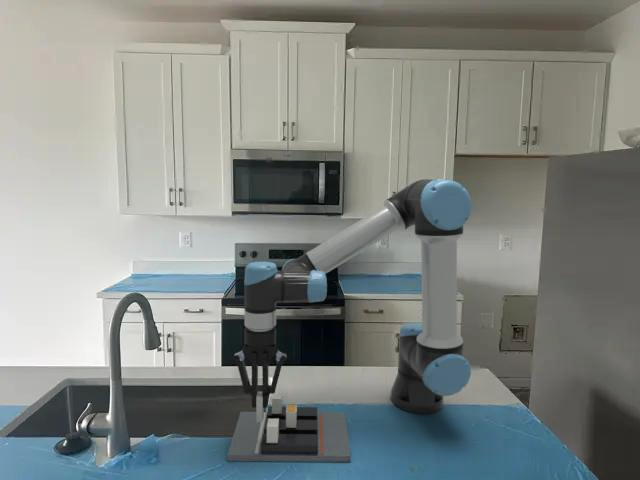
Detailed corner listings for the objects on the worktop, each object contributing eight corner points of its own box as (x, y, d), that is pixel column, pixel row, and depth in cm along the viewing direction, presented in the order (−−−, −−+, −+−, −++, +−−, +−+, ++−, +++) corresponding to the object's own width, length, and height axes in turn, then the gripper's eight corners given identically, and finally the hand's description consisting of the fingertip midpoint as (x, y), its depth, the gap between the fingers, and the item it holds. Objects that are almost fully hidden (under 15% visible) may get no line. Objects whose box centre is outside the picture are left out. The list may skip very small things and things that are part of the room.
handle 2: (278, 434, 105) (278, 418, 104) (277, 443, 101) (277, 426, 101) (268, 434, 105) (268, 418, 104) (266, 442, 101) (266, 426, 101)
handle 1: (282, 406, 118) (282, 392, 117) (281, 413, 114) (281, 399, 114) (273, 406, 118) (273, 392, 117) (271, 413, 114) (271, 398, 114)
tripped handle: (296, 420, 111) (296, 404, 111) (296, 427, 108) (296, 411, 107) (286, 419, 111) (286, 404, 111) (285, 427, 108) (286, 411, 107)
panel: (344, 418, 120) (344, 405, 119) (350, 462, 101) (351, 447, 101) (240, 416, 119) (240, 404, 119) (227, 461, 100) (227, 446, 100)
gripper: (288, 322, 110) (287, 411, 113) (235, 321, 110) (236, 410, 113) (286, 332, 103) (285, 427, 106) (230, 331, 102) (230, 427, 106)
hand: (260, 418), depth 109 cm, fingers closed
